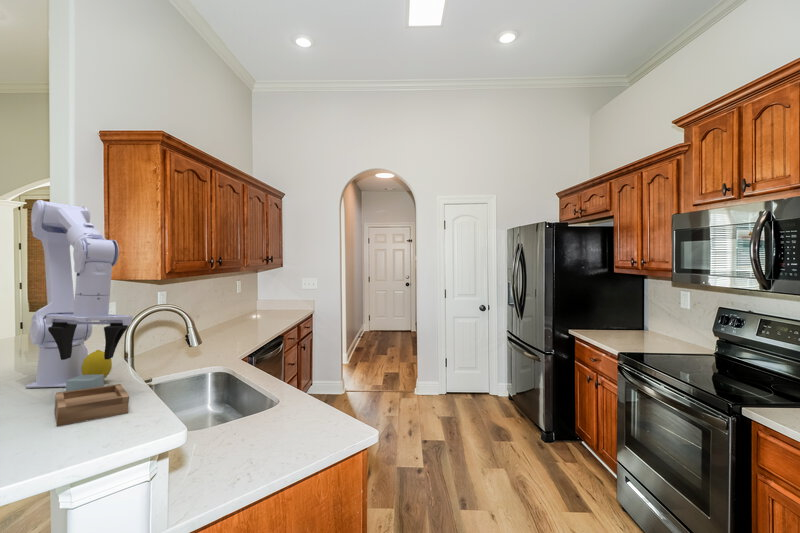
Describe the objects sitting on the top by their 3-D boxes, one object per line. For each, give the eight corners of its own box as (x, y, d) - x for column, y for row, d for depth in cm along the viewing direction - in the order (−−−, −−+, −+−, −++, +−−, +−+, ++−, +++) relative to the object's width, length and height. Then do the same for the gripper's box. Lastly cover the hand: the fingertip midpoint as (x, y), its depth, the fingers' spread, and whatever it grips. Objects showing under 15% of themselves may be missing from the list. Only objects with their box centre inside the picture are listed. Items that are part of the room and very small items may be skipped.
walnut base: (54, 409, 69) (55, 392, 69) (119, 398, 76) (120, 383, 76) (56, 426, 62) (58, 407, 62) (127, 413, 69) (129, 396, 69)
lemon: (92, 388, 82) (95, 353, 82) (73, 385, 83) (76, 350, 83) (116, 381, 87) (119, 348, 88) (98, 379, 89) (100, 346, 89)
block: (77, 395, 77) (79, 374, 77) (102, 395, 78) (103, 374, 78) (64, 403, 73) (66, 380, 73) (90, 402, 74) (92, 380, 74)
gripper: (37, 294, 70) (31, 363, 70) (123, 297, 74) (118, 362, 74) (60, 292, 77) (55, 355, 77) (138, 295, 81) (133, 355, 81)
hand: (87, 358), depth 76 cm, fingers open, 7 cm apart
